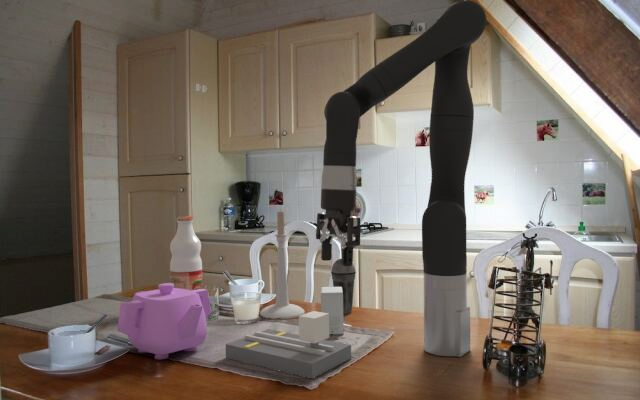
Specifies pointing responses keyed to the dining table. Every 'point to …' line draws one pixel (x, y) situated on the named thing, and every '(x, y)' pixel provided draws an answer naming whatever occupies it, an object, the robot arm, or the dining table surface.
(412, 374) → the dining table surface
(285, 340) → the fader console
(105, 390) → the dining table surface
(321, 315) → the fader tab
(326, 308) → the small box
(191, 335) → the teapot
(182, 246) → the fruit juice
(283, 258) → the candlestick
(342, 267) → the beverage cup
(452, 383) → the dining table surface
